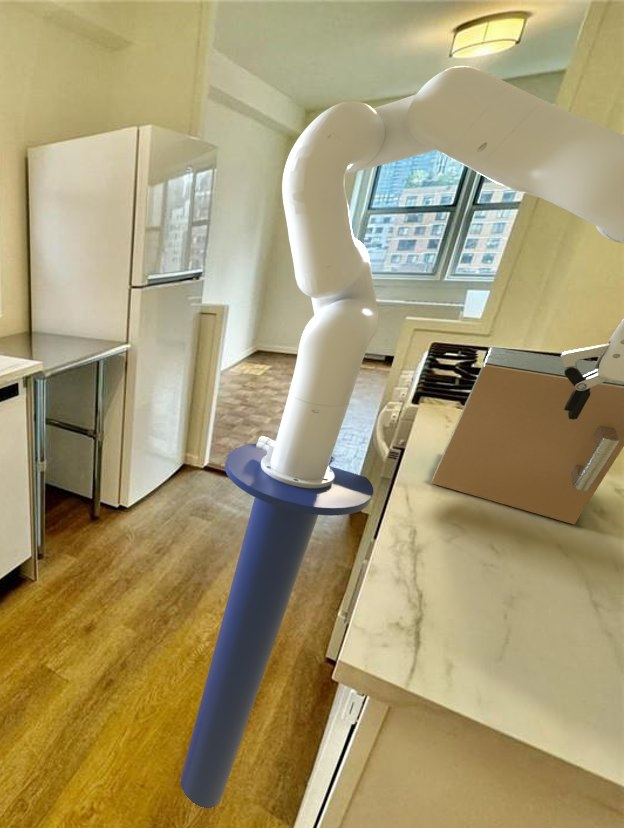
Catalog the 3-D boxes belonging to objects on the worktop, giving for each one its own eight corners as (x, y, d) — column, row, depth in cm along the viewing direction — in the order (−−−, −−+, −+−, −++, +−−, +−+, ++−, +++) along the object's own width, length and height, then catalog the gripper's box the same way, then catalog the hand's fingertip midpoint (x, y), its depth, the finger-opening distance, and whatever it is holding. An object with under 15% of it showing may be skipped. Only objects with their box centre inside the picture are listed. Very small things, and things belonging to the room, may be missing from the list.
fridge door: (576, 542, 71) (665, 405, 61) (425, 496, 82) (480, 374, 72) (573, 522, 76) (656, 391, 66) (431, 481, 87) (484, 364, 77)
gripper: (820, 297, 54) (721, 436, 61) (594, 283, 64) (534, 403, 72) (847, 305, 49) (737, 456, 56) (598, 289, 60) (533, 417, 67)
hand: (623, 426), depth 64 cm, fingers open, 9 cm apart
